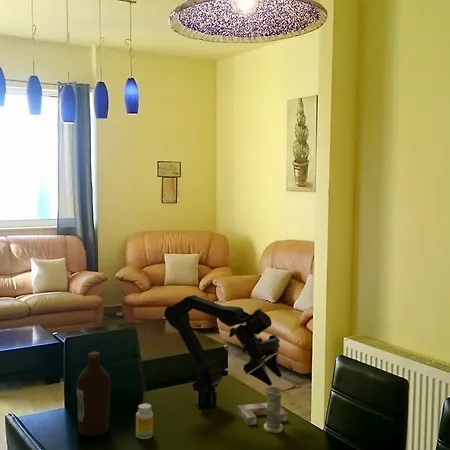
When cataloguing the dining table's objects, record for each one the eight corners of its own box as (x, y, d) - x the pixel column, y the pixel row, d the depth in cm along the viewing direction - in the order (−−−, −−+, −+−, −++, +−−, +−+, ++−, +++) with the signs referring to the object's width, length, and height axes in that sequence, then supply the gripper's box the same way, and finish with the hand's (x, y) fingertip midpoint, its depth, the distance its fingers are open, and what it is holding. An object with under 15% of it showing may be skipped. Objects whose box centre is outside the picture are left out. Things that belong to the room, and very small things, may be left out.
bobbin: (267, 433, 190) (268, 393, 189) (261, 426, 195) (262, 387, 194) (285, 432, 191) (286, 392, 190) (278, 424, 197) (279, 386, 196)
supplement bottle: (132, 435, 187) (132, 405, 186) (147, 430, 190) (147, 401, 189) (141, 441, 182) (141, 410, 182) (156, 436, 186) (156, 406, 185)
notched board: (247, 425, 196) (247, 417, 196) (237, 412, 206) (237, 405, 206) (287, 421, 200) (287, 413, 200) (275, 408, 211) (275, 402, 210)
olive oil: (106, 421, 196) (107, 347, 195) (113, 434, 187) (114, 355, 185) (73, 426, 192) (74, 349, 190) (79, 439, 183) (79, 359, 181)
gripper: (256, 335, 190) (284, 377, 187) (276, 322, 207) (302, 360, 204) (231, 353, 194) (258, 394, 191) (253, 339, 211) (278, 376, 208)
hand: (275, 380), depth 198 cm, fingers open, 9 cm apart
